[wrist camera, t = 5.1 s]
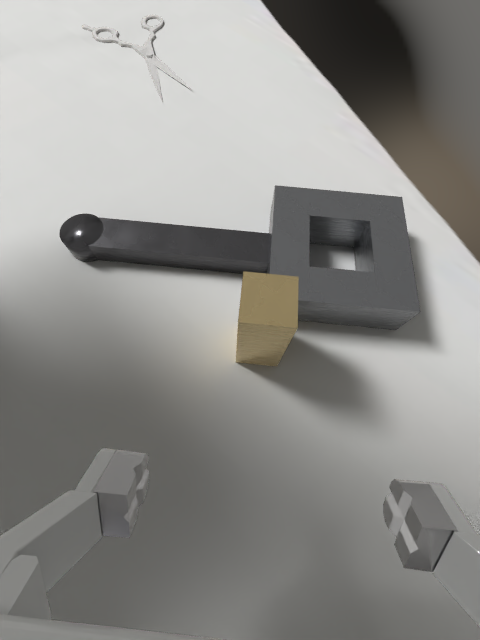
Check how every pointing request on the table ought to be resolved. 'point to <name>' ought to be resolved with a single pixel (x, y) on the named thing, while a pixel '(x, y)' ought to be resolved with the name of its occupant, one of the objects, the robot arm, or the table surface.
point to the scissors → (140, 49)
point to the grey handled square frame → (283, 252)
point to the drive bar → (266, 317)
